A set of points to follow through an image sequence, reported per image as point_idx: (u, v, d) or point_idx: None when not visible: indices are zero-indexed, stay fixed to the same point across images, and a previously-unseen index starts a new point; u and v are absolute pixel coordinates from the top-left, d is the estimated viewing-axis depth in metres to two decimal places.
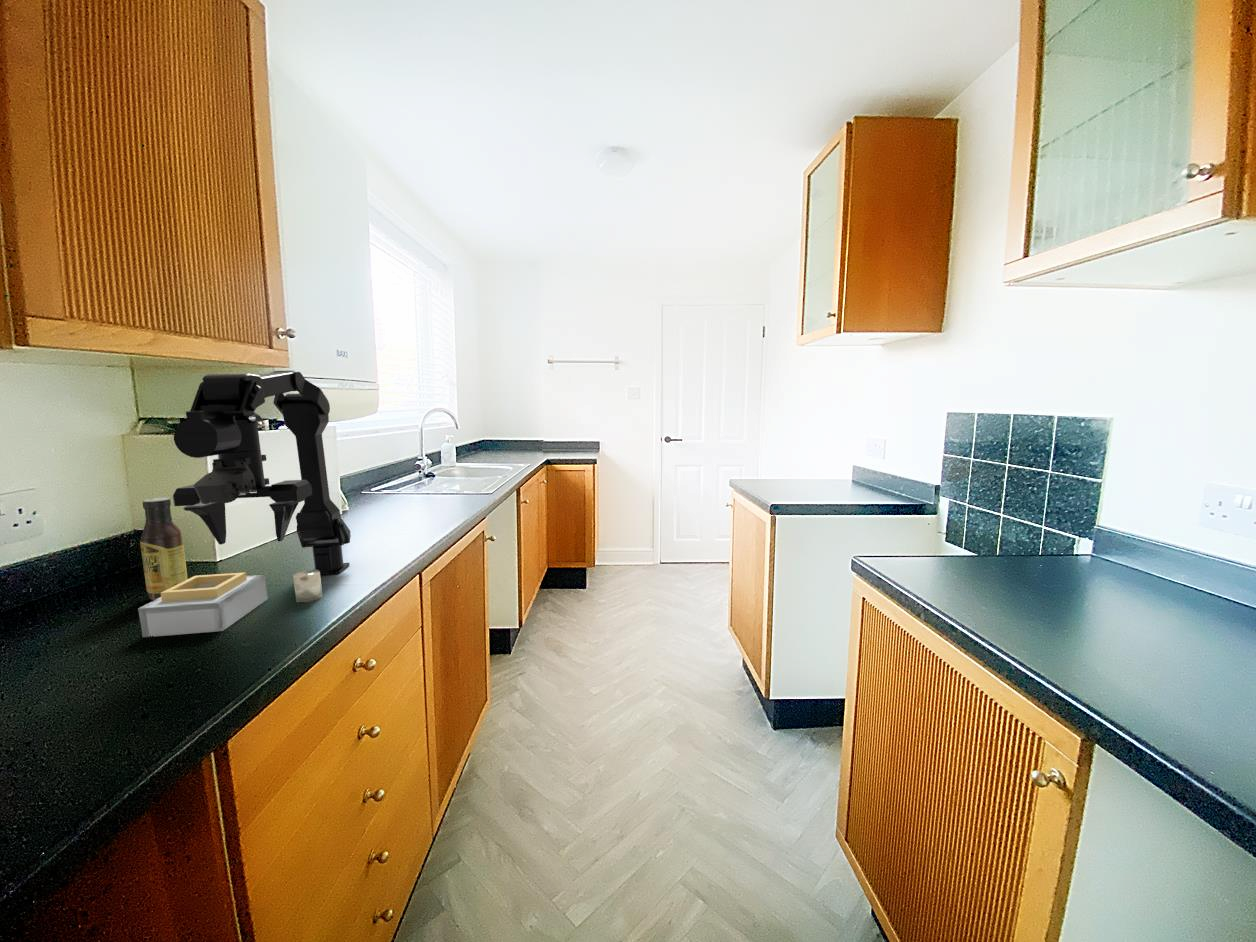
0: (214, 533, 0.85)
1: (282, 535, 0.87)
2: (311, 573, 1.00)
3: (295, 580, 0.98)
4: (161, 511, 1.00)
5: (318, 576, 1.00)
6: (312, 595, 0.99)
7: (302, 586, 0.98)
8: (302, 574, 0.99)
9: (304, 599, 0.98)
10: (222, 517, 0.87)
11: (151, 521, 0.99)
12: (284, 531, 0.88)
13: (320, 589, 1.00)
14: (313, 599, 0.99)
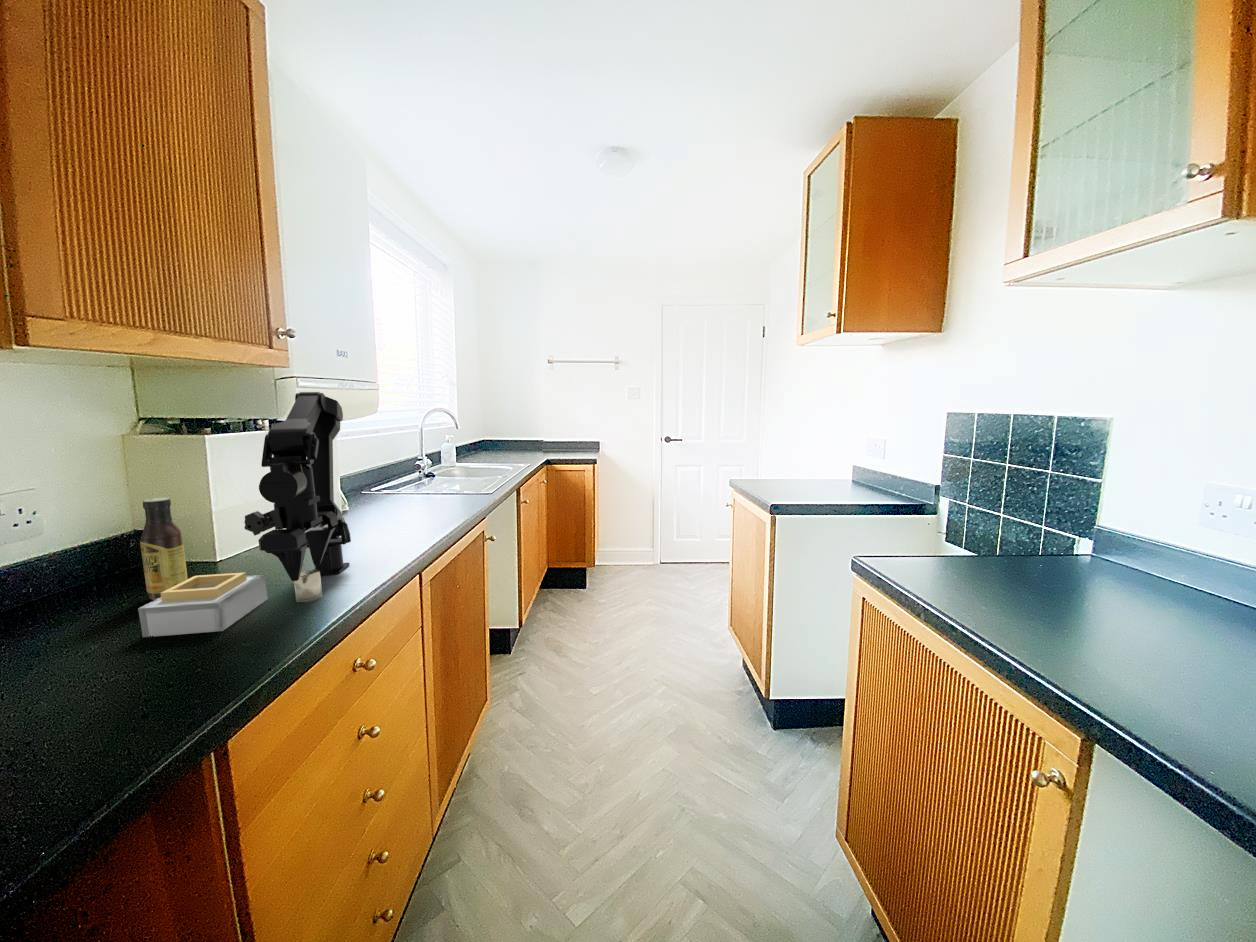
0: None
1: (292, 576, 0.95)
2: (311, 573, 1.00)
3: None
4: (161, 511, 1.00)
5: (318, 576, 1.00)
6: (312, 595, 0.99)
7: (302, 586, 0.98)
8: (302, 574, 0.99)
9: (304, 599, 0.98)
10: (321, 543, 1.04)
11: (151, 521, 0.99)
12: (294, 573, 0.94)
13: (320, 589, 1.00)
14: (313, 599, 0.99)
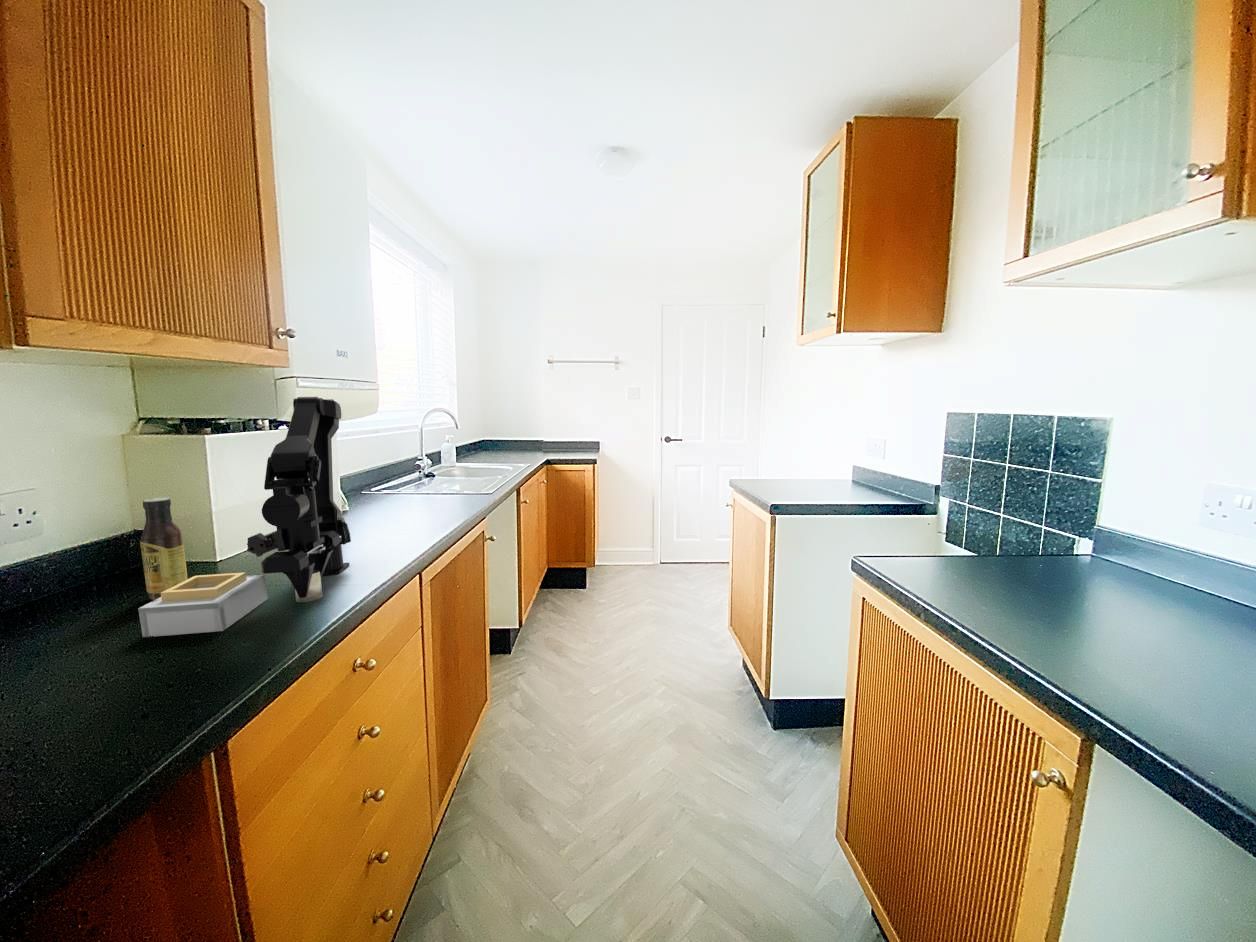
0: None
1: (300, 593, 0.97)
2: None
3: None
4: (161, 511, 1.00)
5: (318, 576, 1.00)
6: (312, 595, 0.99)
7: None
8: None
9: (304, 599, 0.98)
10: (318, 567, 1.02)
11: (151, 521, 0.99)
12: (302, 590, 0.97)
13: (320, 589, 1.00)
14: (313, 599, 0.99)
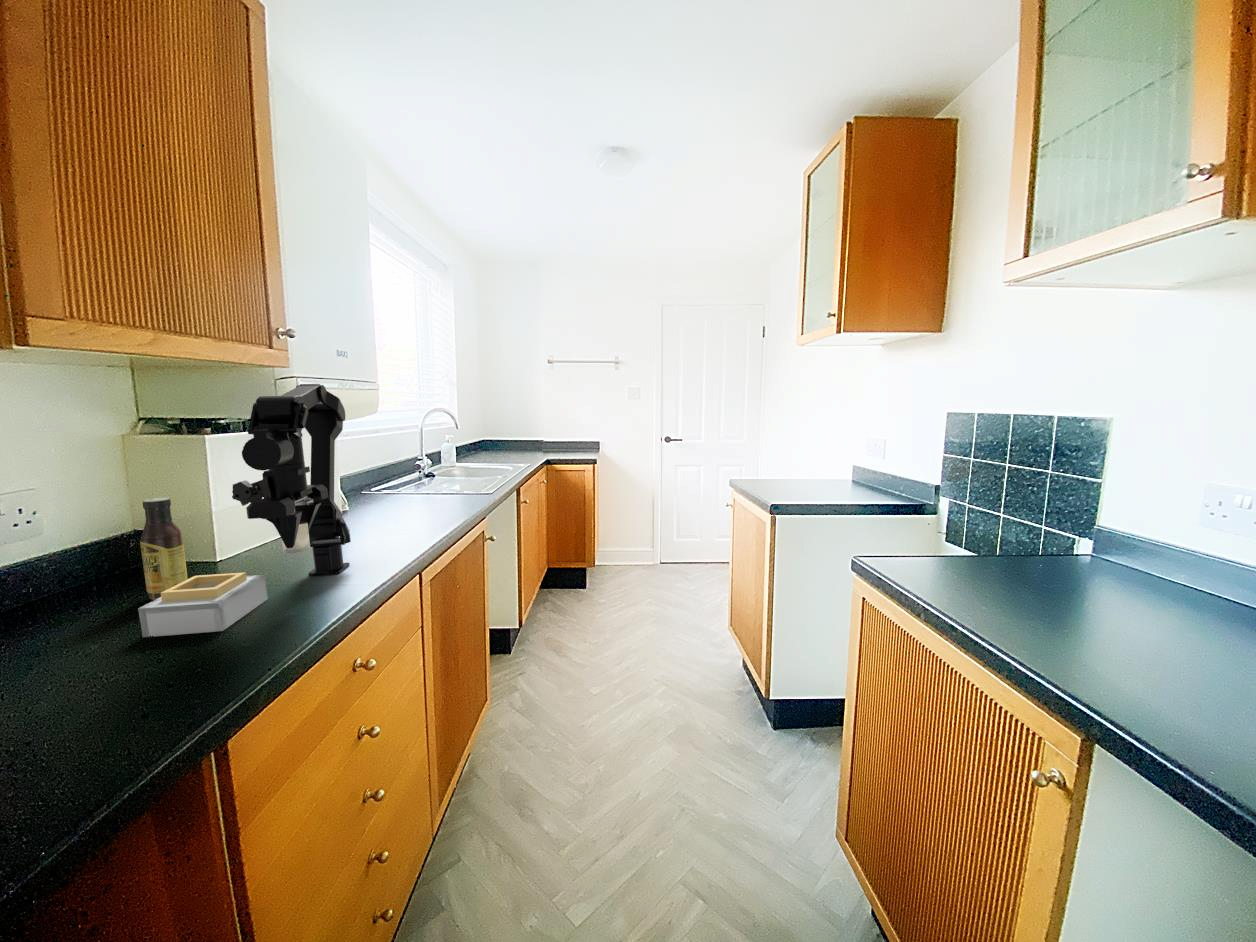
0: None
1: (287, 543, 0.95)
2: (299, 524, 0.98)
3: None
4: (161, 511, 1.00)
5: (306, 527, 0.98)
6: (299, 545, 0.97)
7: None
8: None
9: (291, 549, 0.96)
10: (306, 519, 1.00)
11: (151, 521, 0.99)
12: (289, 540, 0.95)
13: (308, 540, 0.98)
14: (301, 550, 0.97)
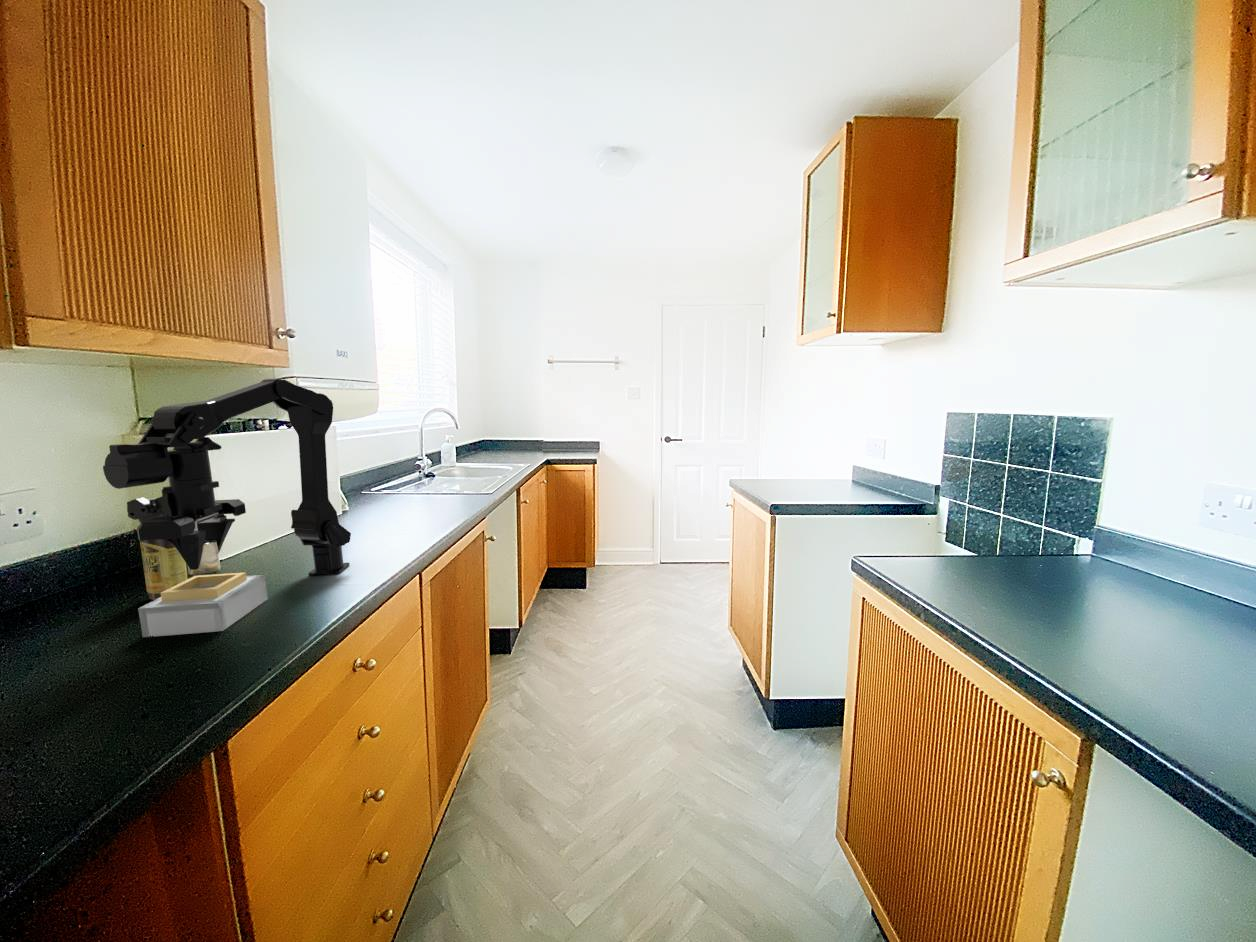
0: None
1: (190, 565, 0.88)
2: (206, 543, 0.90)
3: None
4: None
5: (213, 546, 0.91)
6: (206, 566, 0.90)
7: None
8: None
9: (196, 571, 0.89)
10: (217, 537, 0.93)
11: None
12: (192, 561, 0.88)
13: (216, 560, 0.91)
14: (207, 571, 0.90)
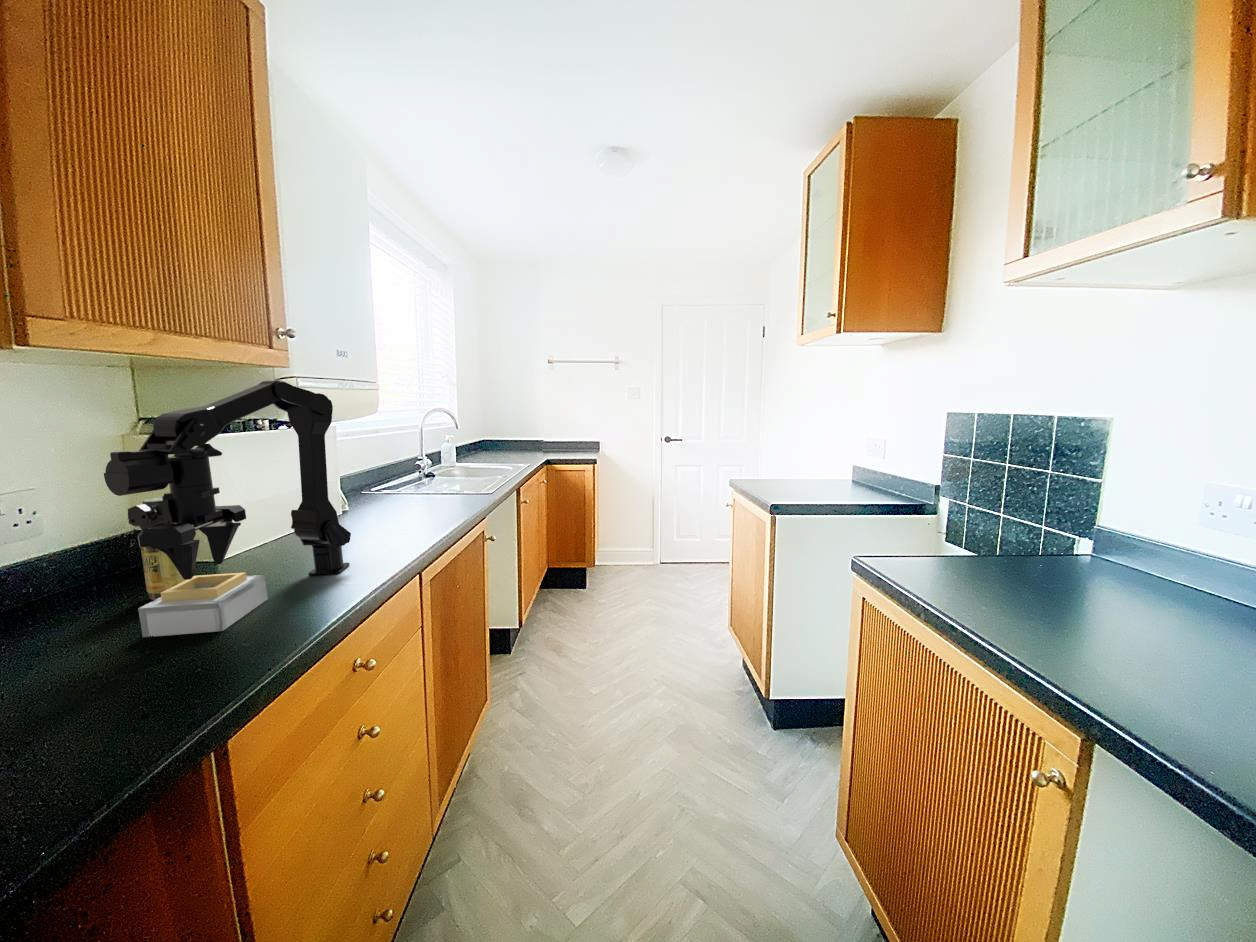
0: None
1: (184, 575, 0.87)
2: None
3: None
4: None
5: None
6: None
7: None
8: None
9: None
10: (223, 540, 0.95)
11: None
12: (186, 571, 0.86)
13: None
14: None
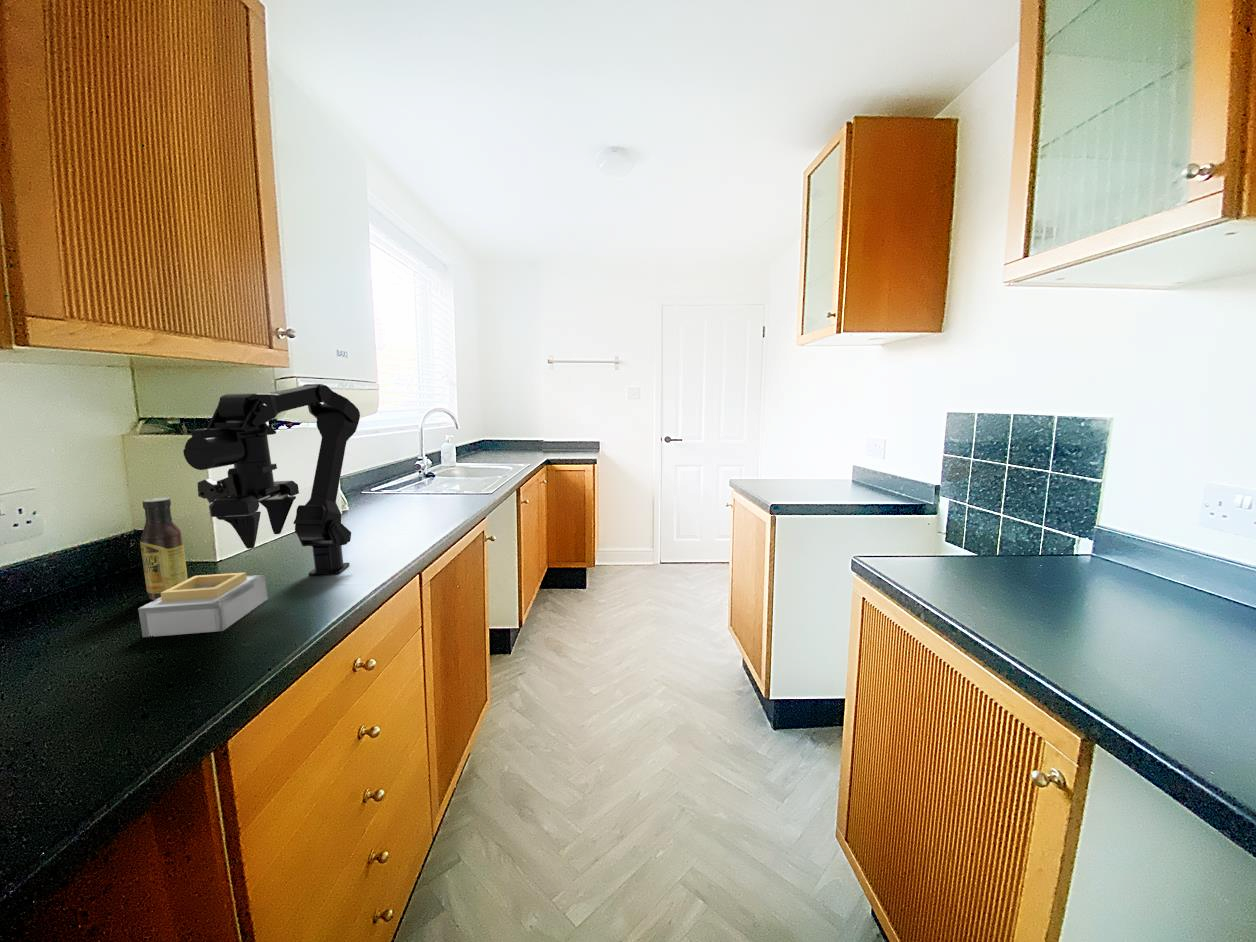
0: None
1: (247, 544, 0.94)
2: None
3: None
4: (161, 511, 1.00)
5: None
6: None
7: None
8: None
9: None
10: (281, 512, 1.03)
11: (151, 521, 0.99)
12: (248, 541, 0.94)
13: None
14: None
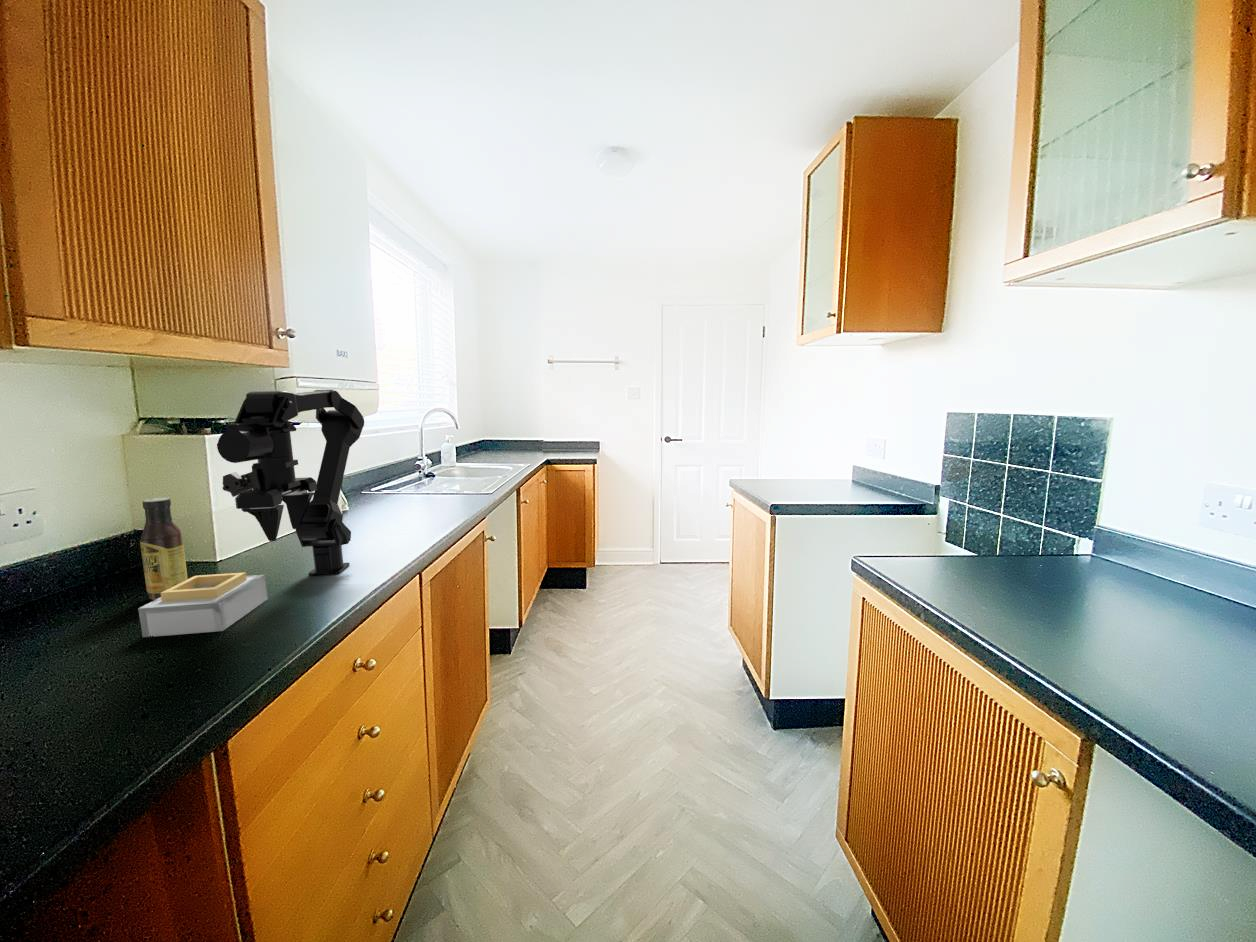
0: None
1: (269, 536, 0.97)
2: None
3: None
4: (161, 511, 1.00)
5: None
6: None
7: None
8: None
9: None
10: (300, 508, 1.06)
11: (151, 521, 0.99)
12: (271, 533, 0.97)
13: None
14: None
